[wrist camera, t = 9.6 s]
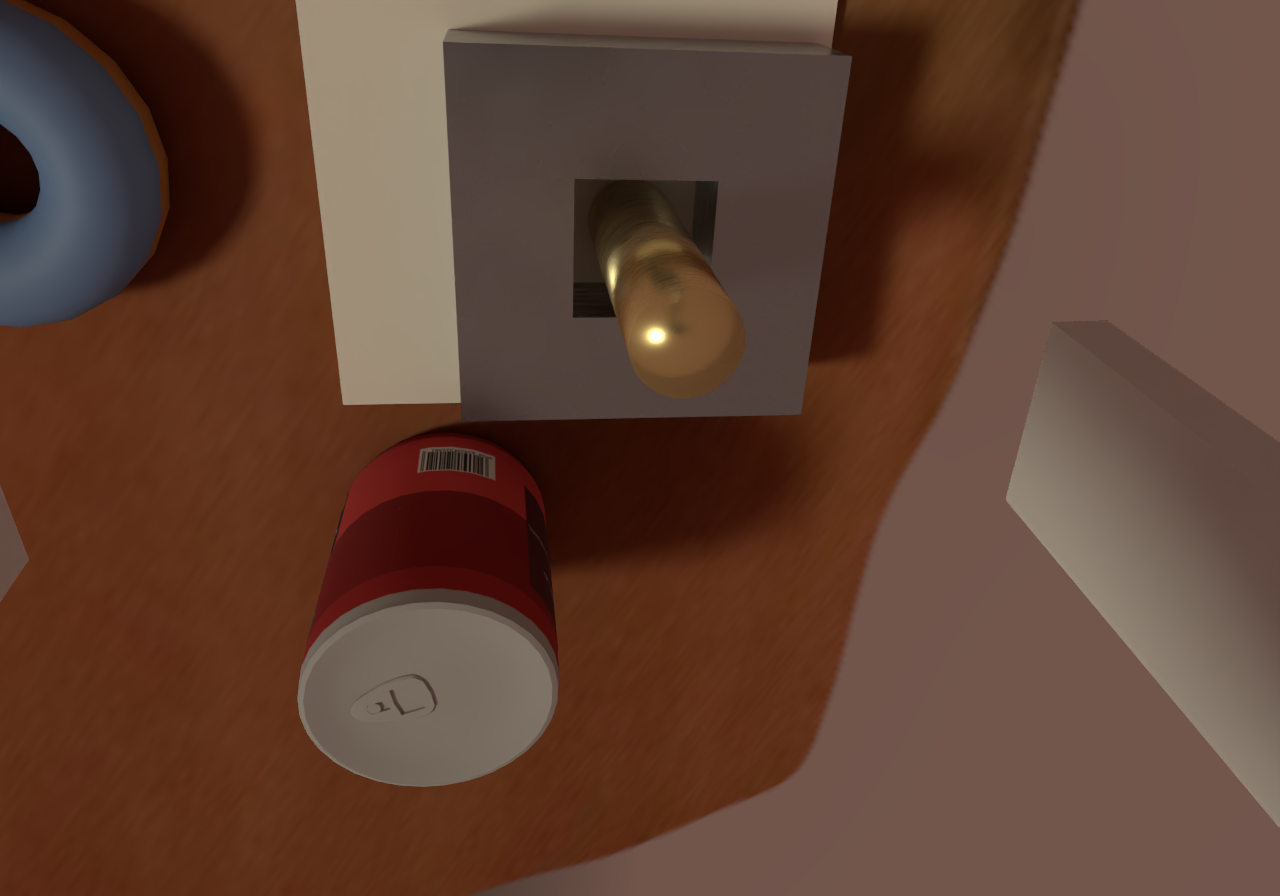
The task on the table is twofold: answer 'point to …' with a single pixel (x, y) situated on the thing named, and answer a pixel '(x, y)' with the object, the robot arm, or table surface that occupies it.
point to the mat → (419, 163)
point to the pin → (664, 293)
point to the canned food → (434, 617)
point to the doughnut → (74, 171)
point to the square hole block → (633, 150)
